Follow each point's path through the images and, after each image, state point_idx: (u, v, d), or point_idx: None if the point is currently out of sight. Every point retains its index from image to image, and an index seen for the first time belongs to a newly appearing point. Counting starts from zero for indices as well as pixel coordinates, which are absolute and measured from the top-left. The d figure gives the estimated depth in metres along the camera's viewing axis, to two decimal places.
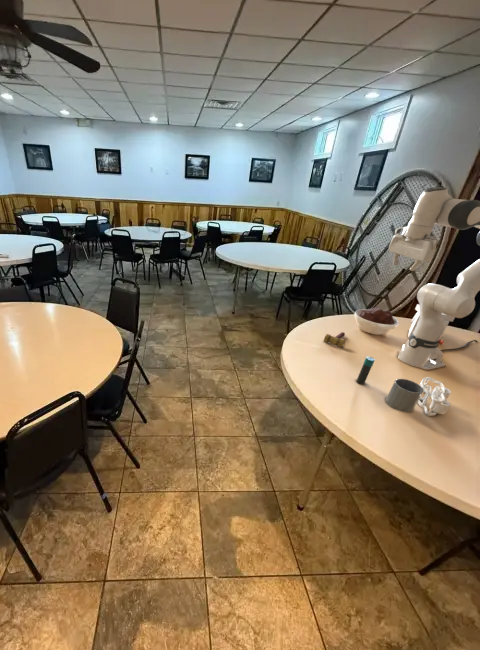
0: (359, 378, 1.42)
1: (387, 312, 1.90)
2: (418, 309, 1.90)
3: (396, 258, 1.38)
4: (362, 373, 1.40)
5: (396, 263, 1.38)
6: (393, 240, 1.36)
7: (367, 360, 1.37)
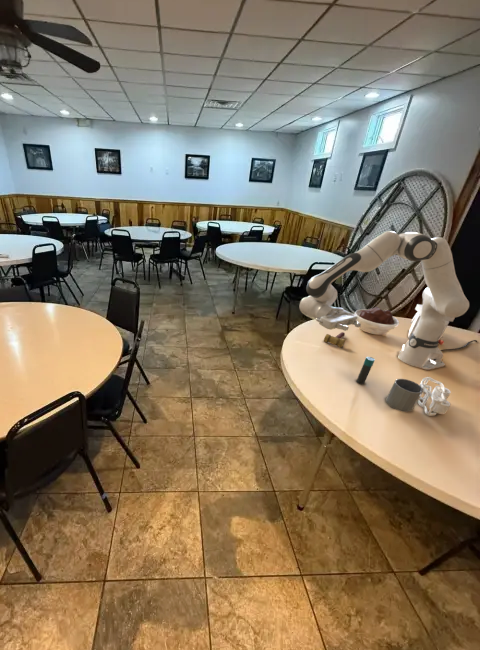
0: (359, 378, 1.42)
1: (387, 312, 1.90)
2: (418, 309, 1.90)
3: (355, 323, 1.45)
4: (362, 373, 1.40)
5: (357, 325, 1.43)
6: None
7: (367, 360, 1.37)
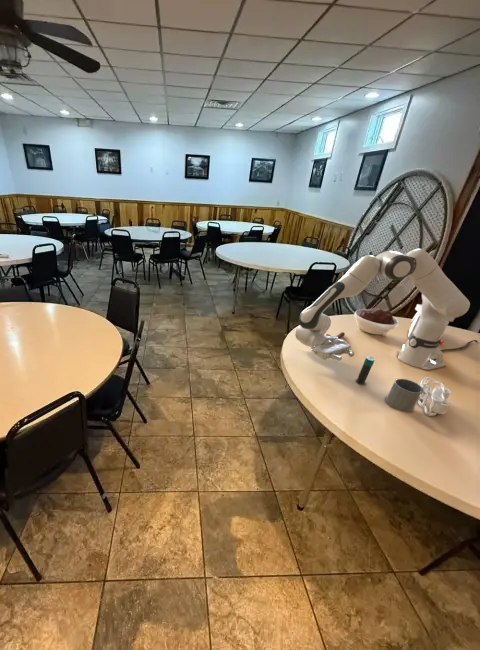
0: (359, 378, 1.42)
1: (387, 312, 1.90)
2: (418, 309, 1.90)
3: (349, 352, 1.51)
4: (362, 373, 1.40)
5: (351, 354, 1.49)
6: None
7: (367, 360, 1.37)
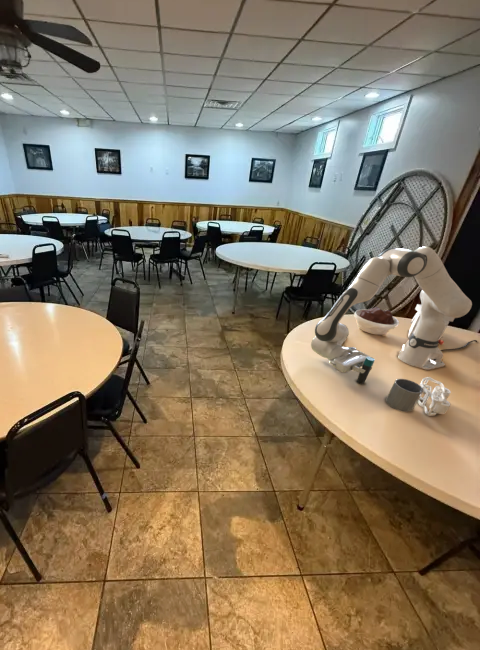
0: (359, 378, 1.42)
1: (387, 312, 1.90)
2: (418, 309, 1.90)
3: None
4: (362, 373, 1.40)
5: None
6: None
7: (367, 360, 1.37)
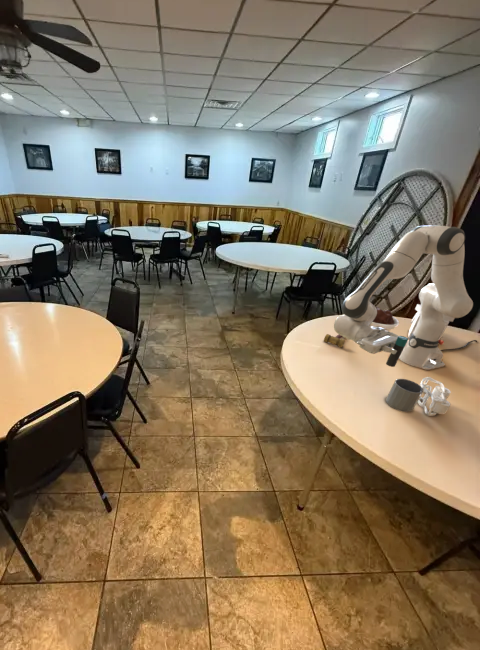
0: (389, 360, 1.29)
1: (387, 312, 1.90)
2: (418, 309, 1.90)
3: None
4: (393, 354, 1.27)
5: None
6: None
7: (400, 339, 1.23)
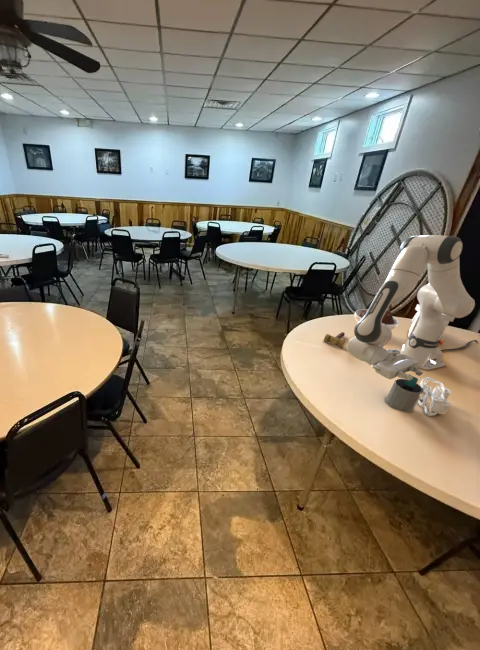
0: None
1: (387, 312, 1.90)
2: (418, 309, 1.90)
3: (415, 370, 1.27)
4: None
5: (419, 373, 1.25)
6: None
7: None
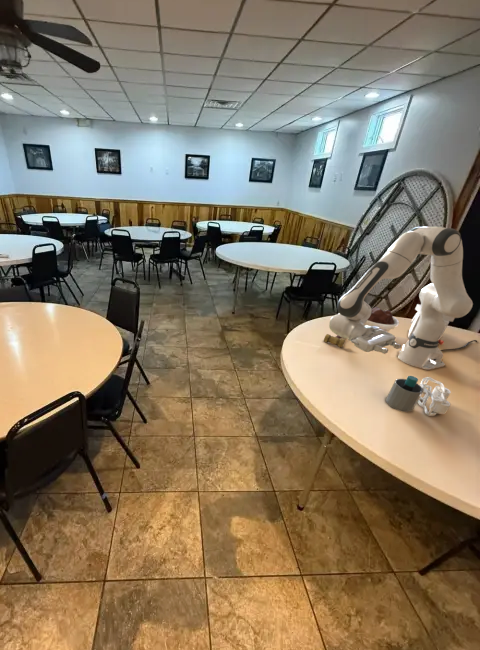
0: None
1: (387, 312, 1.90)
2: (418, 309, 1.90)
3: (394, 344, 1.32)
4: None
5: (397, 346, 1.31)
6: None
7: (409, 380, 1.24)
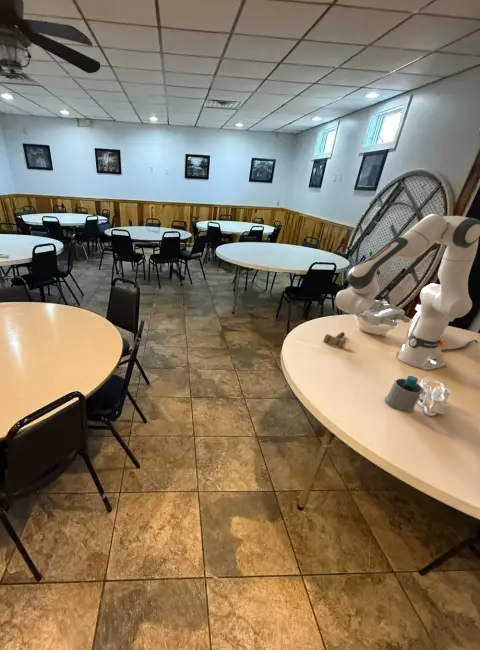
0: None
1: None
2: (418, 309, 1.90)
3: (403, 318, 1.27)
4: None
5: (406, 320, 1.25)
6: None
7: (409, 380, 1.24)
